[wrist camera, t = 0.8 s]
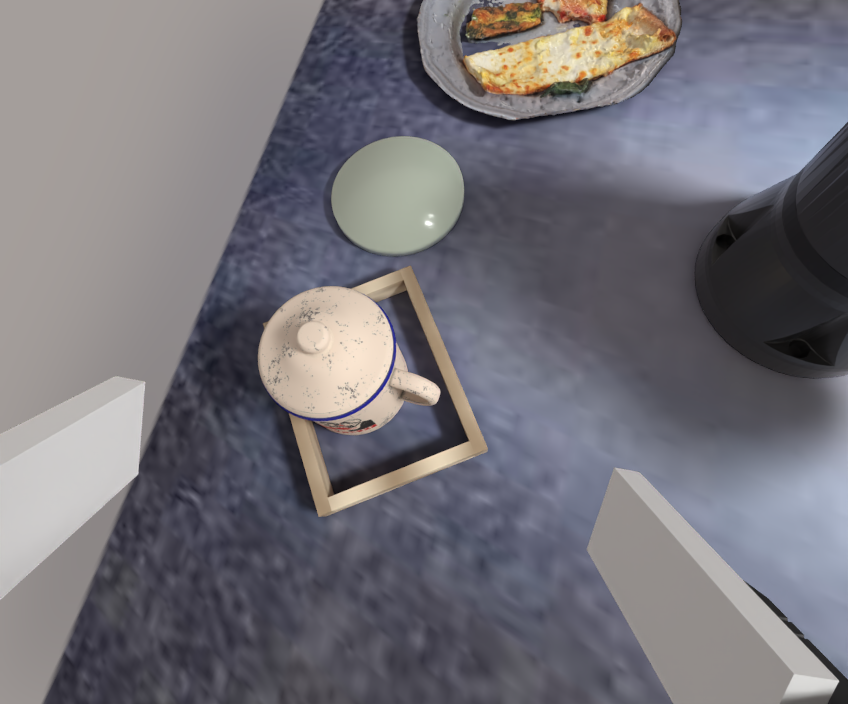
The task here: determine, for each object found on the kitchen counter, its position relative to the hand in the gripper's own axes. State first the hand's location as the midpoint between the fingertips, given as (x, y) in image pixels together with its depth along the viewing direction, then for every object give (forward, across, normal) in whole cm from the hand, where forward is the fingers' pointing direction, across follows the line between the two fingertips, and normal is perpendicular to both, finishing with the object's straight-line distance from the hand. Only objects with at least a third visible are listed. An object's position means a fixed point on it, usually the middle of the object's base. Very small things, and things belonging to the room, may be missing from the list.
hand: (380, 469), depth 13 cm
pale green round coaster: (+34, -2, +9) cm, 35 cm away
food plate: (+42, +9, +28) cm, 52 cm away
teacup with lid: (+25, -1, -6) cm, 26 cm away
